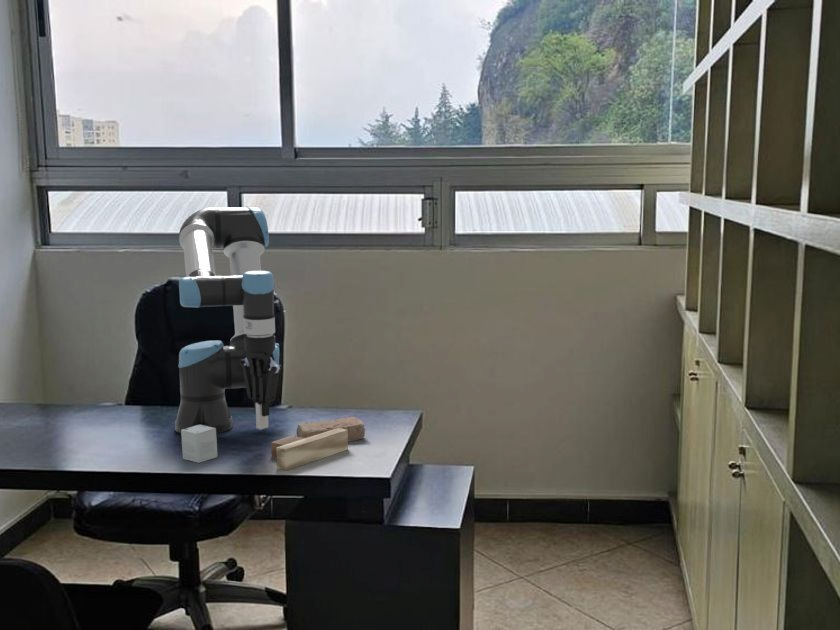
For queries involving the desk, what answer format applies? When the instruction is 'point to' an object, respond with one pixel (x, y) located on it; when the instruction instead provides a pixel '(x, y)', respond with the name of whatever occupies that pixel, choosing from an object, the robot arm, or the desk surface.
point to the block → (282, 443)
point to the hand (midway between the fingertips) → (262, 427)
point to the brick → (318, 427)
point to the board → (311, 449)
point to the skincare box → (199, 443)
